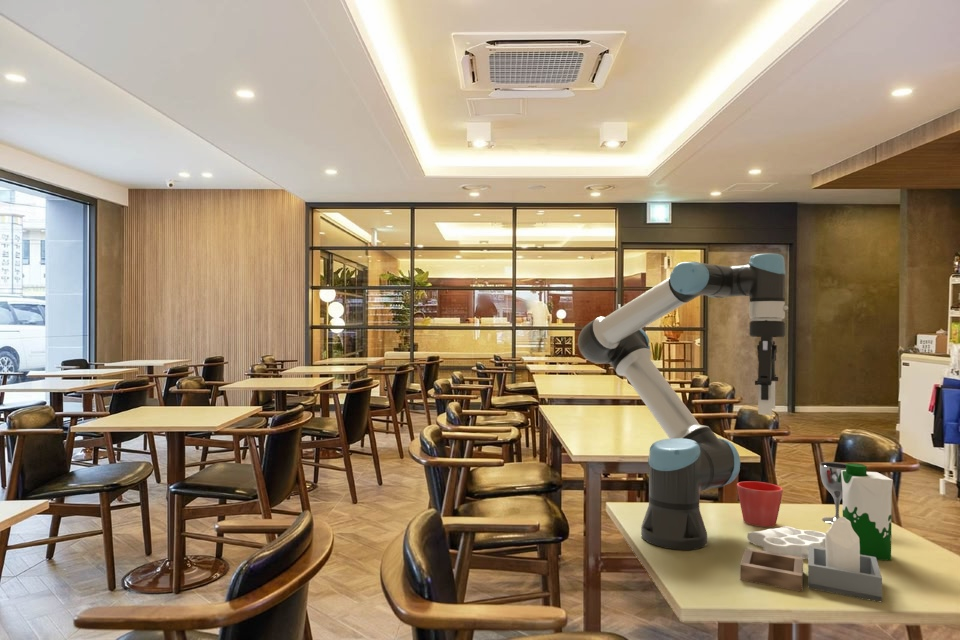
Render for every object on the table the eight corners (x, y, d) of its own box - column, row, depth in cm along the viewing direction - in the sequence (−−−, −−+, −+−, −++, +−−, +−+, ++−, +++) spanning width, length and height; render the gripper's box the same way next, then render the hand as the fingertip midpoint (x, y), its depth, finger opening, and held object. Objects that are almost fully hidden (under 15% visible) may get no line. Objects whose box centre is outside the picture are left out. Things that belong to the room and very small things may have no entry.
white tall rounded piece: (830, 520, 117) (820, 512, 122) (831, 582, 116) (821, 571, 122) (864, 523, 115) (853, 514, 121) (865, 585, 115) (853, 573, 121)
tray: (808, 588, 116) (808, 565, 116) (808, 567, 126) (808, 546, 126) (882, 602, 110) (882, 578, 110) (876, 579, 120) (875, 557, 121)
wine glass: (861, 526, 154) (861, 468, 154) (830, 526, 154) (830, 468, 154) (843, 517, 162) (843, 462, 162) (814, 516, 162) (813, 461, 162)
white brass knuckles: (790, 535, 148) (847, 555, 135) (737, 544, 141) (791, 567, 127) (790, 521, 148) (847, 540, 135) (737, 530, 141) (791, 551, 127)
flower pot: (747, 513, 164) (747, 478, 164) (789, 523, 156) (789, 486, 156) (729, 521, 157) (729, 484, 157) (772, 532, 149) (772, 493, 149)
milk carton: (837, 545, 140) (837, 460, 140) (880, 548, 138) (879, 462, 138) (852, 559, 131) (852, 468, 132) (898, 562, 129) (898, 471, 130)
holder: (740, 579, 120) (740, 564, 120) (745, 561, 129) (745, 547, 129) (802, 591, 114) (802, 576, 114) (803, 572, 124) (803, 557, 124)
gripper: (782, 318, 126) (782, 418, 125) (787, 321, 148) (787, 406, 147) (744, 318, 130) (744, 416, 129) (754, 321, 151) (754, 404, 151)
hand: (767, 411), depth 138 cm, fingers open, 13 cm apart
